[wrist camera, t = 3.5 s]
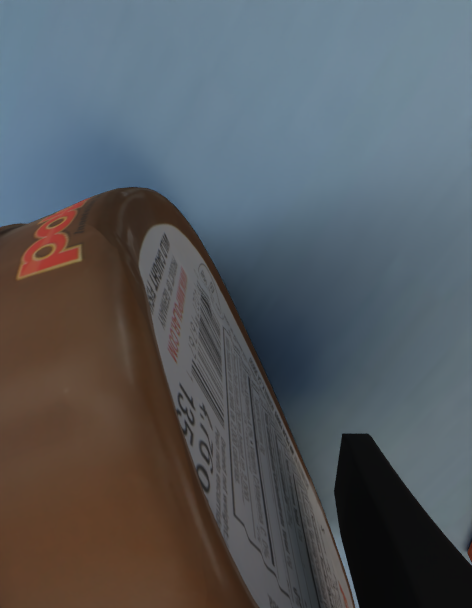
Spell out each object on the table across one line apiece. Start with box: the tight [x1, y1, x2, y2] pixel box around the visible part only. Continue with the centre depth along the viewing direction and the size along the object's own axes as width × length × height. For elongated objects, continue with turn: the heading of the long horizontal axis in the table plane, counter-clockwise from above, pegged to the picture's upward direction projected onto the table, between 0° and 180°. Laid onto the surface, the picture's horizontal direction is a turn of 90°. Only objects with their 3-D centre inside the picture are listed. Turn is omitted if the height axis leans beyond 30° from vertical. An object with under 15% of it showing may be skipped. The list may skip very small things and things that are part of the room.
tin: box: [0, 187, 355, 608], centre depth 10 cm, size 15×3×8 cm, turn 21°
